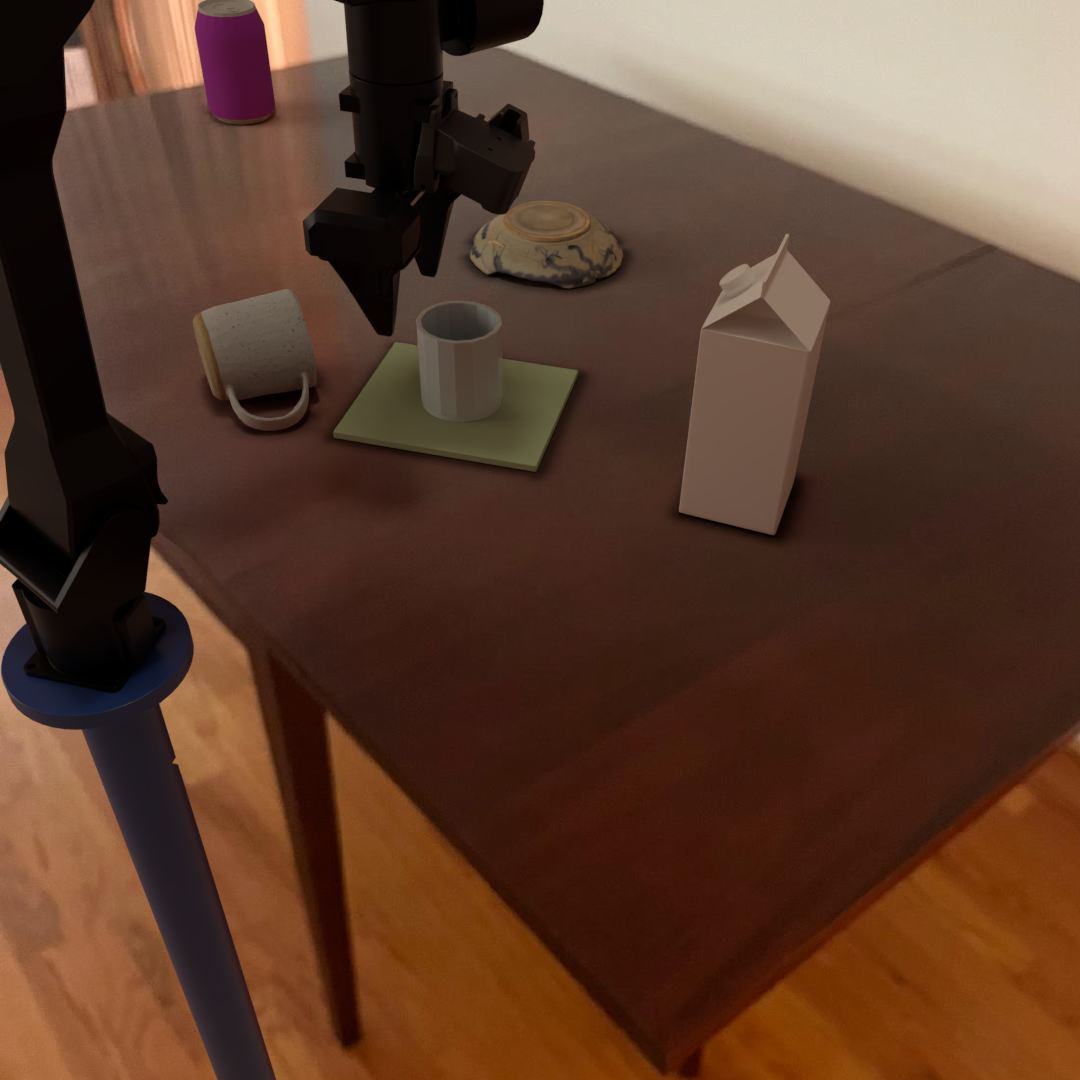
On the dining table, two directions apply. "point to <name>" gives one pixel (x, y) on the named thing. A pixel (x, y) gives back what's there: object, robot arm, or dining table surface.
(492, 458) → the mat
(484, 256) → the decorative bowl
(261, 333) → the ceramic mug
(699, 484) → the milk carton
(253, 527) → the dining table surface
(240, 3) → the beverage can
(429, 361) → the container
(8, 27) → the robot arm
